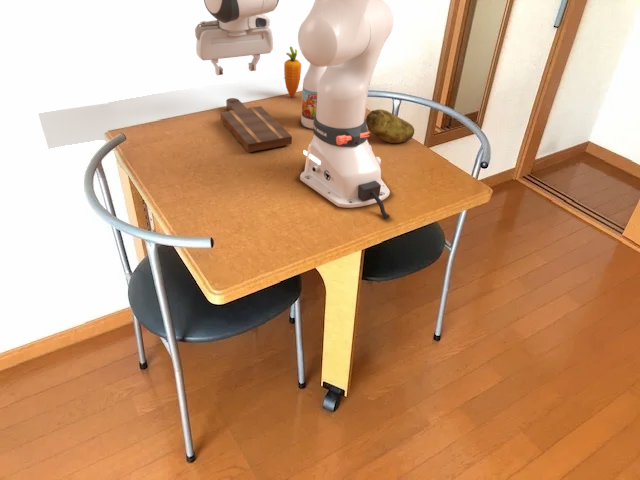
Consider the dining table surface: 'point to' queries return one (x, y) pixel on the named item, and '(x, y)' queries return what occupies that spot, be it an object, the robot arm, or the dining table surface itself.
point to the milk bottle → (310, 94)
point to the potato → (389, 126)
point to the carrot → (292, 73)
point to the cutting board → (254, 127)
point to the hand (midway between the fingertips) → (236, 72)
